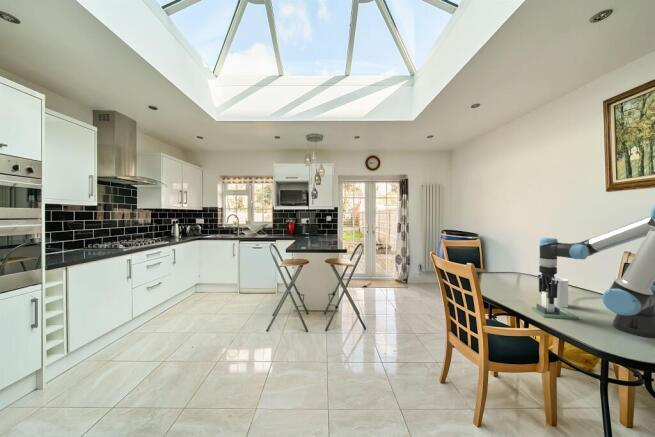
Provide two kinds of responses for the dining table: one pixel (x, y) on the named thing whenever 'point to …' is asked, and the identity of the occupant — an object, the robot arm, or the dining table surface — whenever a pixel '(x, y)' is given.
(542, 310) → the header board
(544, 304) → the plug
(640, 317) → the robot arm
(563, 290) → the cup
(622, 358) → the dining table surface
